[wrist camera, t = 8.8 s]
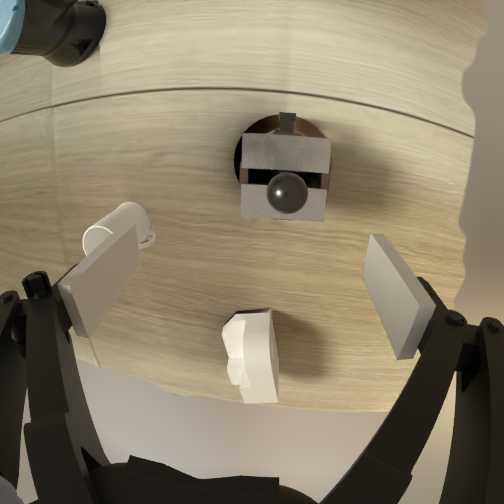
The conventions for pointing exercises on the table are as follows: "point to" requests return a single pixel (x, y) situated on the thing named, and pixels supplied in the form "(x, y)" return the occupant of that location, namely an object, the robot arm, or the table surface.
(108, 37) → the table surface
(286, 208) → the plunger
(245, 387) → the tape dispenser
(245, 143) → the wooden tankard
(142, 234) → the mug
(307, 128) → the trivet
